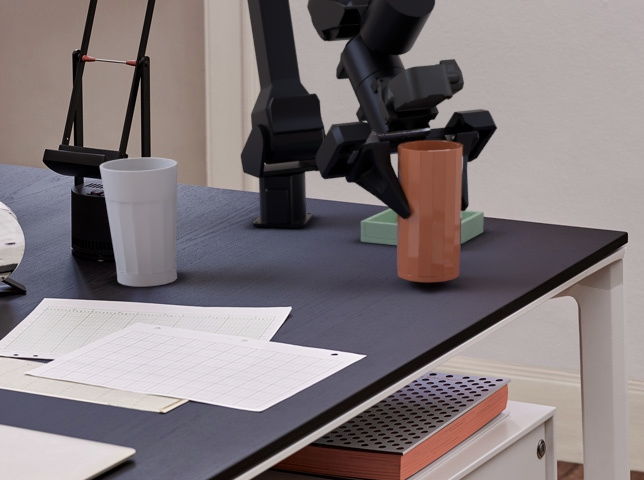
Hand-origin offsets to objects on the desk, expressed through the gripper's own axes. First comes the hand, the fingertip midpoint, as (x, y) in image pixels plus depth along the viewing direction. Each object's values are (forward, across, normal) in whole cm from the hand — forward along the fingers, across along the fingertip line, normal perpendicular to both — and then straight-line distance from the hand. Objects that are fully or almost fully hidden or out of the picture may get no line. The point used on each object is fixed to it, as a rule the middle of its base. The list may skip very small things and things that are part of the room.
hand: (436, 212), depth 136 cm
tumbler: (+4, 0, +6) cm, 7 cm away
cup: (-8, -24, +19) cm, 32 cm away
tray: (-8, +11, +19) cm, 24 cm away
